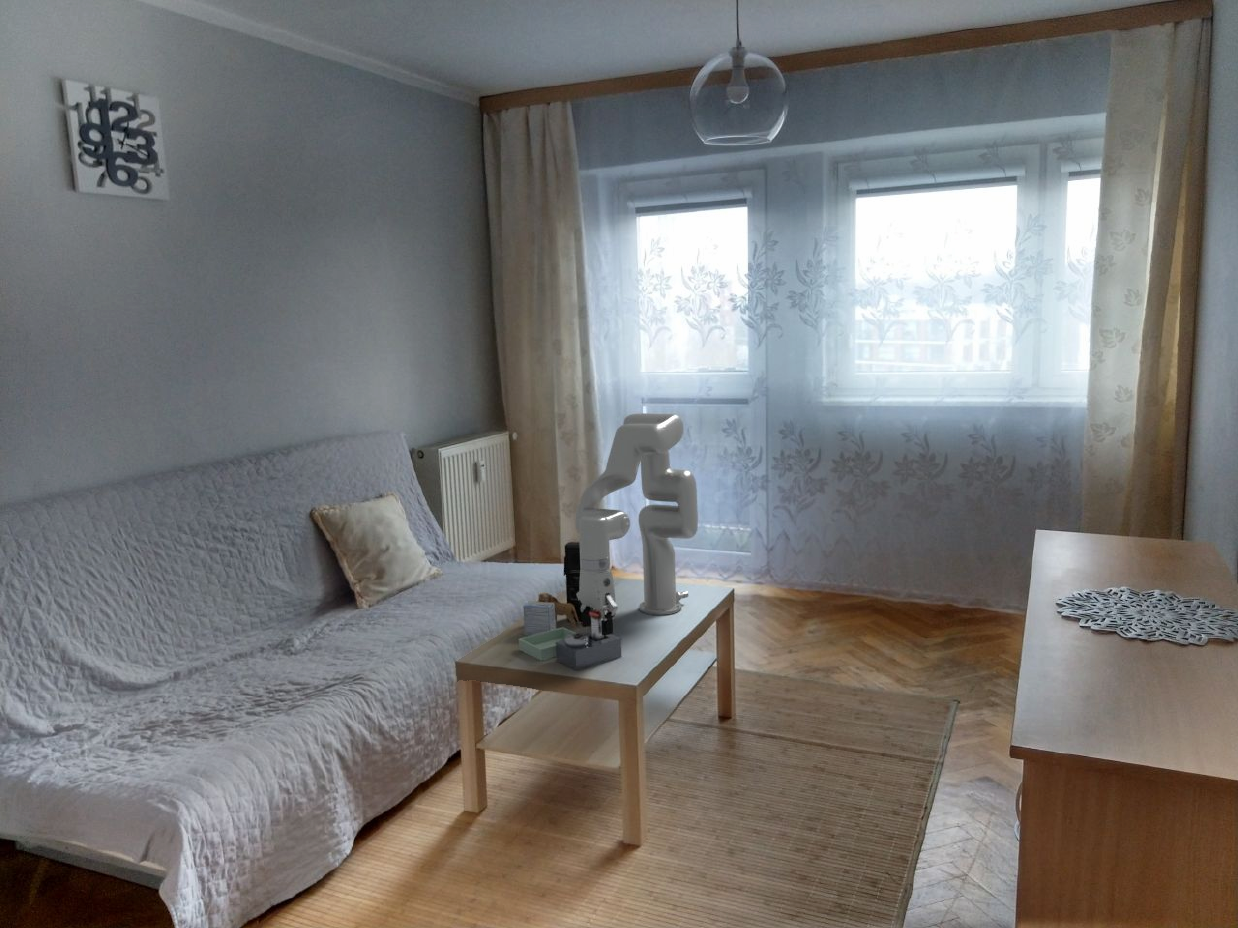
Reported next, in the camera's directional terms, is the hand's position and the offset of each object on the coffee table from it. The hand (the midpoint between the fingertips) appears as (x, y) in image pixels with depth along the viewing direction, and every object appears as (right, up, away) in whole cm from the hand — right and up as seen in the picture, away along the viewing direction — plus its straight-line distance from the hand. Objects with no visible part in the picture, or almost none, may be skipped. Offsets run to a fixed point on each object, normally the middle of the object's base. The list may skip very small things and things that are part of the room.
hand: (597, 629), depth 234 cm
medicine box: (-16, -5, +20) cm, 26 cm away
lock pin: (0, -7, +1) cm, 7 cm away
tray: (-12, -6, +7) cm, 16 cm away
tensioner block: (-2, -7, -1) cm, 8 cm away
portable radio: (-6, -3, +31) cm, 32 cm away
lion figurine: (-12, -4, +27) cm, 30 cm away
